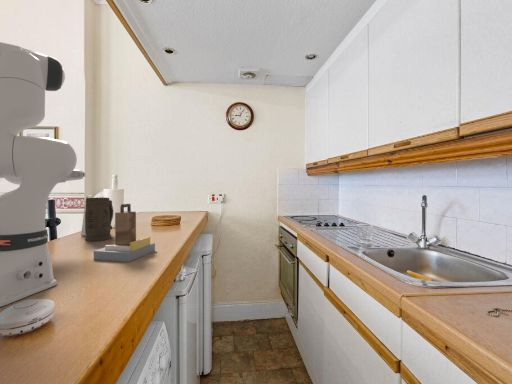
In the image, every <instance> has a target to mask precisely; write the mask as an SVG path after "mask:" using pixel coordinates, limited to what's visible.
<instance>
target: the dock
mask: <svg viewBox="0 0 512 384" xmlns="http://www.w3.org/2000/svg"><path fill="white" fill-rule="evenodd" d="M153 252H156V243H155V242H151V236H146V237H144V238H143V237H142V238H140V239H136V241H133V242H130V246H118V245H115V243H114V244H104V247H102V248H98V249H96V250H93V260H97V261H112V262H127V263H130V262H133V261H135V260H137V259H140V258H142V257H144V256H147V255H148V254H151V253H153Z"/></svg>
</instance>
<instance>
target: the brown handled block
mask: <svg viewBox="0 0 512 384" xmlns="http://www.w3.org/2000/svg"><path fill="white" fill-rule="evenodd" d="M131 207H132V205H131V203H121V204H120V210H119V211H116V212H114V213H115V214H114V219H115V220H114V221H115V223H114V225H115V227H114V229H115V230H114V233H115V237H114V238H115V243H114V244H115V245H118V246H130V242H133V241H136V240H137V212H136V211H132V209H131ZM125 208H127V211H126V210H125Z"/></svg>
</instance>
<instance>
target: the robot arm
mask: <svg viewBox="0 0 512 384" xmlns="http://www.w3.org/2000/svg"><path fill="white" fill-rule="evenodd" d="M65 74H66V73H65V70H64V68H63V64H62V63H61V62H60V60H58V59H57V58H55V57H53V56H50V55H45V54H42V53H39V52H36V51H34V50H30V49H27V48H24V47H21V46H19V45H15V44H12V43H6V42H0V179H5V180H6V181H7V182H8V183H11V184H13V185H19V186H18V187H17V188H16V189H13V190H10V191H7V192H5V193H3V194H1V195H0V308H1V307H3V306H6V305H9V304H11V303H14V302H17V301H19V300H22V299H25V298H27V297H29V296H31V295H35V294H37V293H39V292H42V291H44V290H47V289H50V288H52V287H54V286H57V285H58V282H57V281H58V280H57V279H55V278H54V270H53V264H52V257H51V253H50V251H49V249H48V246H47V243H48V242H49V233H48V229H47V228H46V213H47V202H48V199H49V196H50V195H51V192H52V191H53V189H54V188H55V187H56V185H58V184H60V183H66V182H69V181H78V180H82V179H84V178H85V177H86V172H85V171H83V170H81V169H75V168H76V165H77V160H78V159H77V154H76V152H75V150H74V148H73V146H72V145H71V144H70V143H69V142H67V141H64V140H60V139H55V138H50V137H46V136H45V137H41V136H31V135H30V136H26V135H19V134H20V133H22V132H23V131H25V130H29V129H31V128H34V127H36V126H38V125H39V124H41V123H42V121H44V119H45V116H46V114H45V113H46V111H45V110H46V92H47V91H48V92H56V91H59V90H60V89H61V88H62V86H63V85H64V83H65V79H66V76H65Z"/></svg>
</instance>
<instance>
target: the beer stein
mask: <svg viewBox="0 0 512 384" xmlns="http://www.w3.org/2000/svg"><path fill="white" fill-rule="evenodd" d="M84 202H85V204H86V212H85V233H86V235H85V238H84V239H85V241H87V242H99V241H106V240H110V239H111V238H112V235H111V233H112V232H111V231H112V230H113V226H112V221H113V218H114V206H113V201H112V200H111V199H110V197H103V198H102V197H88V198H86V197H85V201H84Z"/></svg>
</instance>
